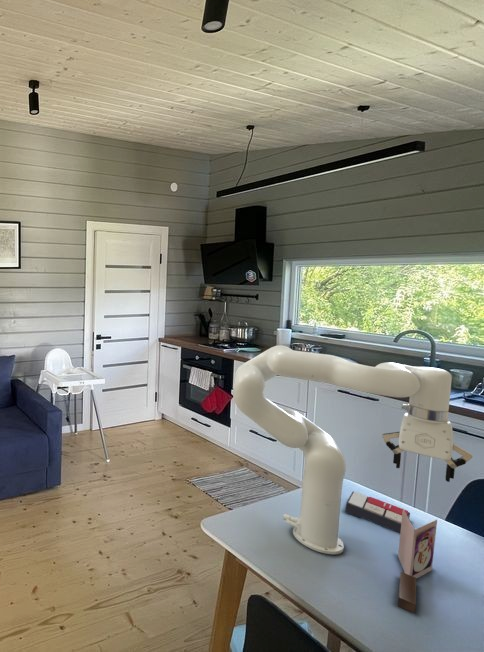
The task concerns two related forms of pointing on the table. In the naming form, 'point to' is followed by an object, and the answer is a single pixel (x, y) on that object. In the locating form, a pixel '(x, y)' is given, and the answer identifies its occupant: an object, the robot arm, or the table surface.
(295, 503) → the table surface
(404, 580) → the walnut bar
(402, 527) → the greeting card
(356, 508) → the calculator
